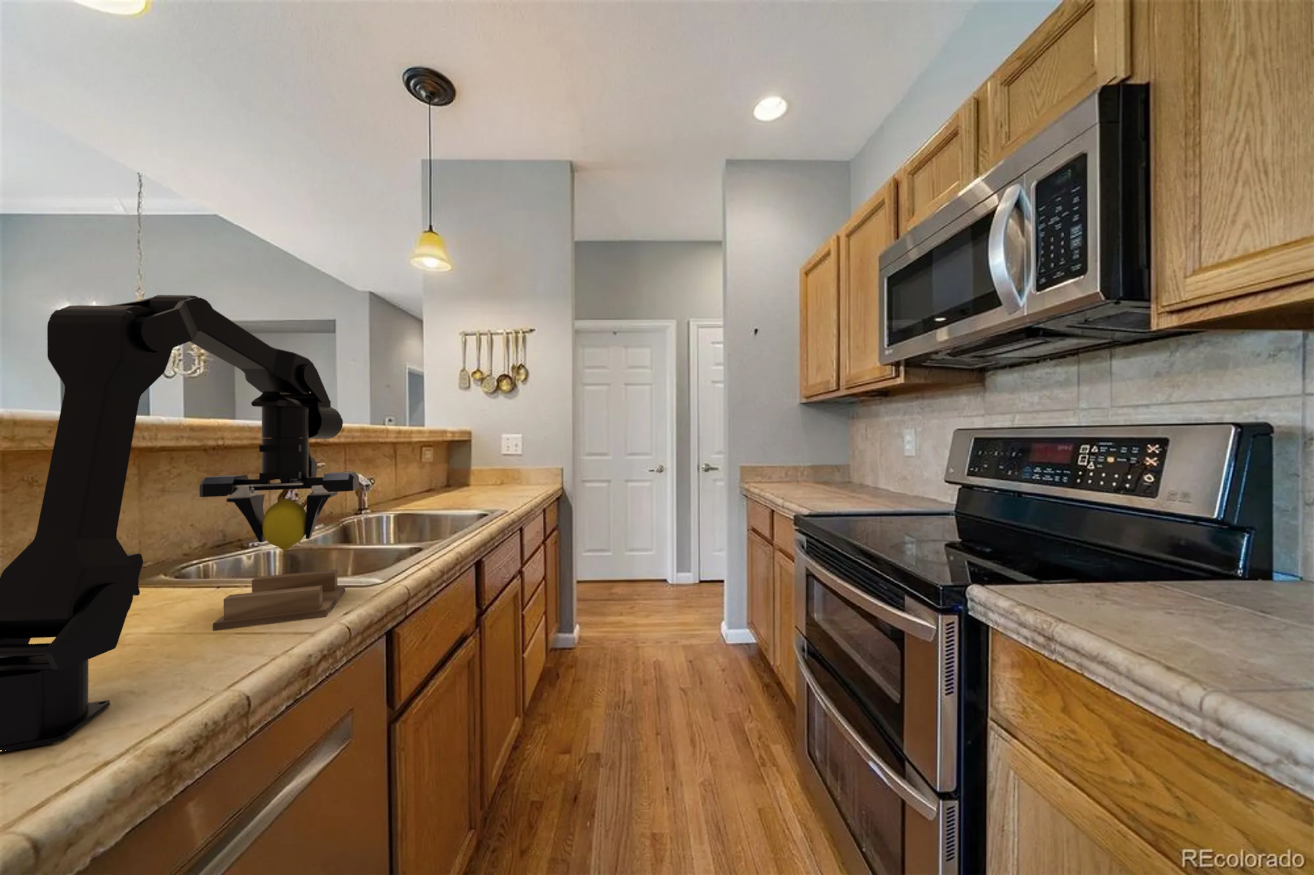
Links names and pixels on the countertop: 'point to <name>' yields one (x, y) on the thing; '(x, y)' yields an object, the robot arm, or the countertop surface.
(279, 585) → the cradle
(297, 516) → the lemon
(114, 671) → the countertop surface
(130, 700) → the countertop surface
